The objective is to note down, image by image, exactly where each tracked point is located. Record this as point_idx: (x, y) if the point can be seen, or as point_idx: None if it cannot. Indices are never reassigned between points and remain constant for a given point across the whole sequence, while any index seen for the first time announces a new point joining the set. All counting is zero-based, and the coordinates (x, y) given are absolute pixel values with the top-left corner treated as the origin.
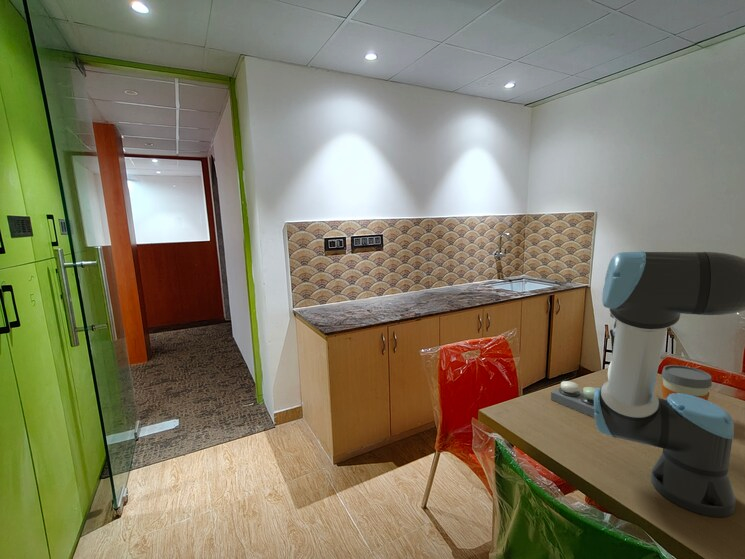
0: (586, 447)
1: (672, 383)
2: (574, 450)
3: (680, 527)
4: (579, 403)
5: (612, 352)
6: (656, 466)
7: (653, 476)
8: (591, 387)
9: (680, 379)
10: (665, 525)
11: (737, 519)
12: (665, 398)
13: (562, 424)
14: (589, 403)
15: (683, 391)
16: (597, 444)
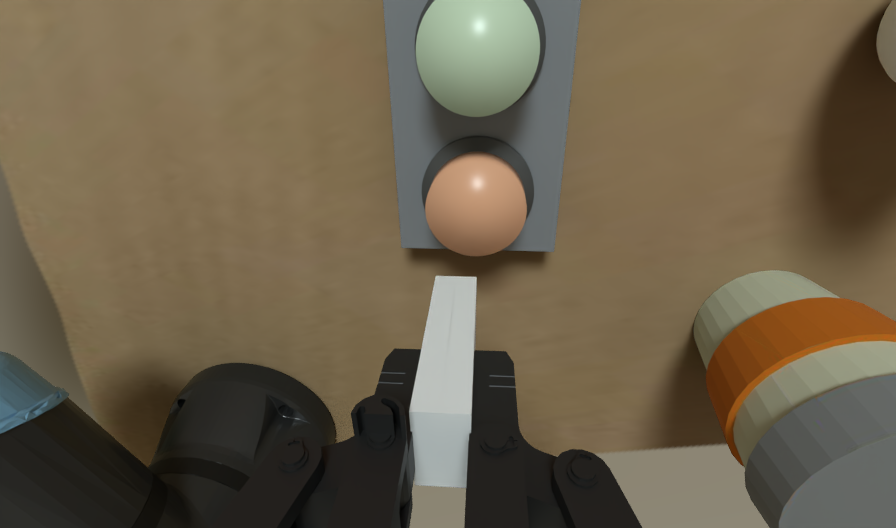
0: (162, 198)
1: (770, 427)
2: (103, 181)
3: (134, 429)
4: (384, 13)
5: (235, 501)
6: (183, 410)
7: (185, 390)
8: (525, 17)
9: (771, 493)
10: (108, 414)
11: None
12: (747, 322)
13: (198, 38)
14: (416, 65)
15: (739, 440)
16: (218, 213)
